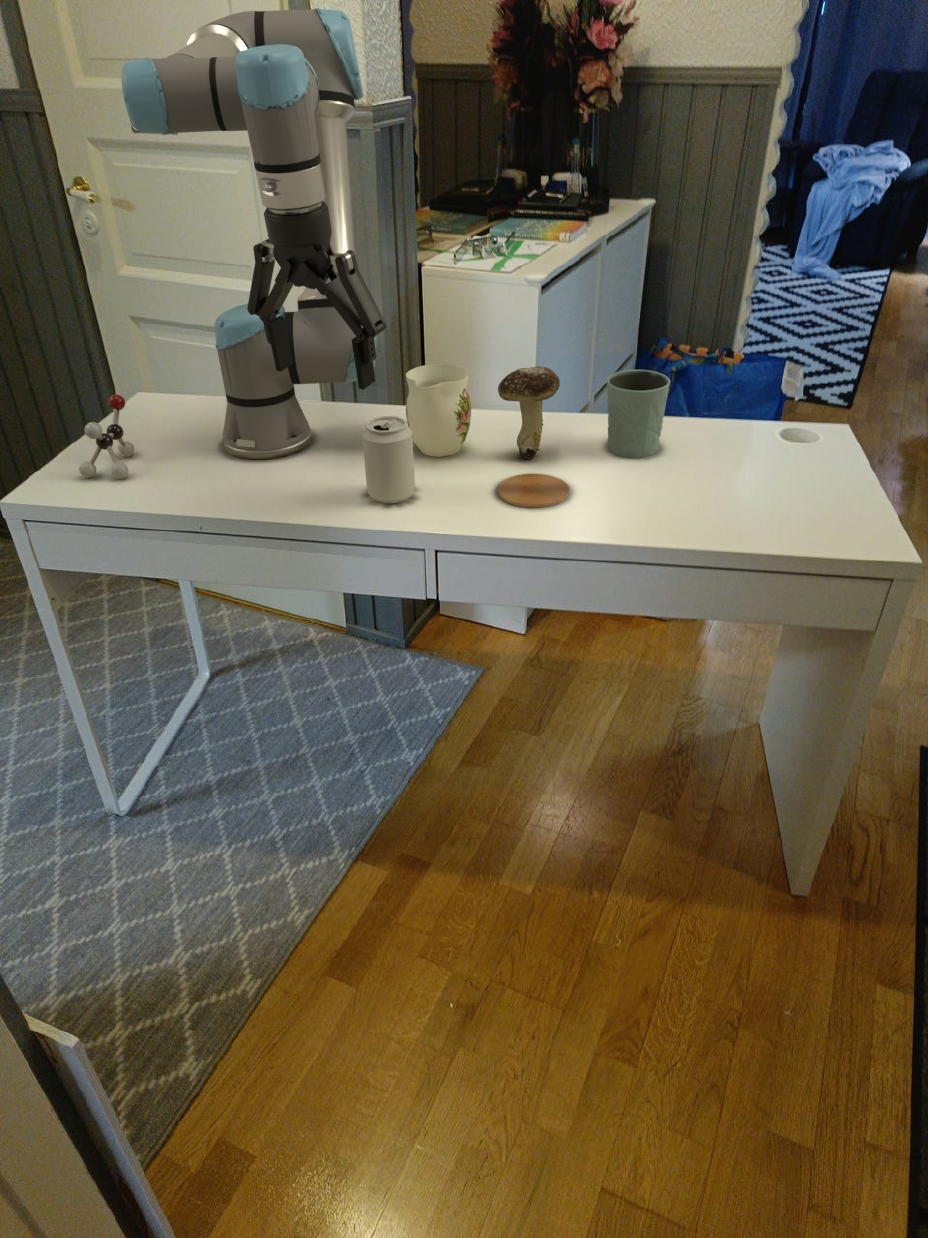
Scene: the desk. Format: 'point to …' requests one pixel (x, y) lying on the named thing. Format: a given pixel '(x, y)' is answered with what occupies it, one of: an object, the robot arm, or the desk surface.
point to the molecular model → (108, 442)
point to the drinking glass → (636, 411)
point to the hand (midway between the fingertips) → (325, 375)
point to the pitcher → (438, 408)
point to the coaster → (533, 490)
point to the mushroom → (529, 403)
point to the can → (388, 459)
